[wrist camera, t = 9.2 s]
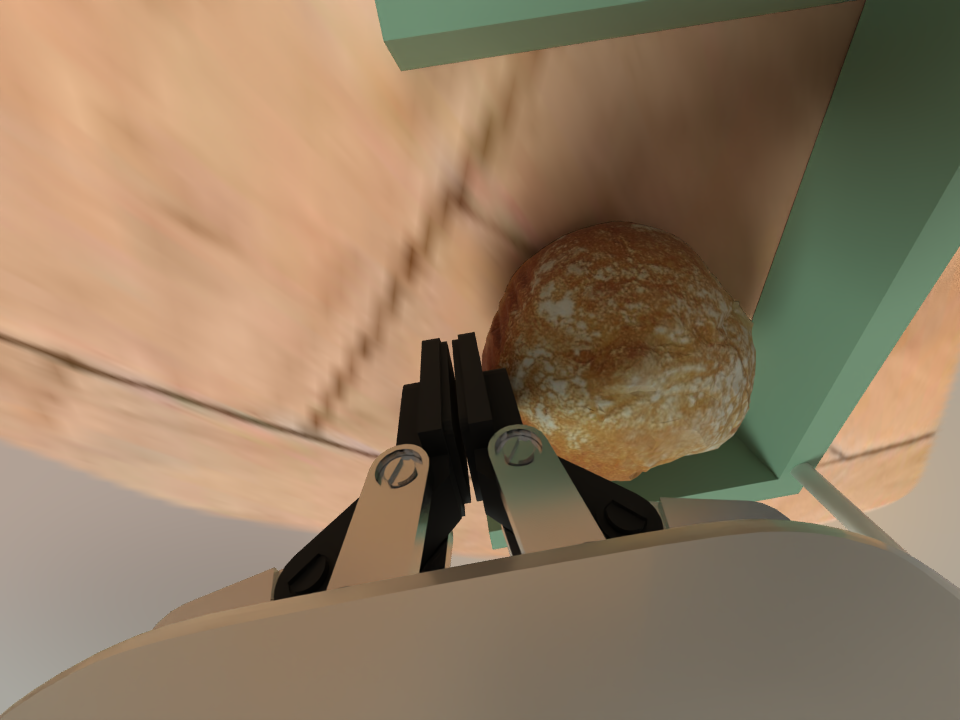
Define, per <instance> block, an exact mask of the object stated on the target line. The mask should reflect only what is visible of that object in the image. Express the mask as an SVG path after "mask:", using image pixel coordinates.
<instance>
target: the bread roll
mask: <svg viewBox="0 0 960 720" xmlns="http://www.w3.org/2000/svg"><path fill="white" fill-rule="evenodd" d="M753 325H754V323H753V322H752V321H750V320H749V319H748V317H747V316H746V315H745V313H744V312H743V311H742V309H741V308H740V306H739V302H737V301H733V298H732V297H731V296H730V295H729V294H728V293H727V292H726V291H725V290H724V289H723V288H722V287H721V284H720V282H719V281H718V280H717V278H716V277H715V276H714V275H713V274H712V273H710V272H709V271H708V268H707V267H706V265H705V264H704V262H703V261H702V260H701V258H700V257H699V256H698V255H697V254H696V253H695V252H694V251H693V250H692V249H691V248H690V247H689V246H688V245H687V244H686V243H685V242H684V241H682V240H681V239H679V238H678V237H676V236H675V235H673V234H670V233H668V232H666V231H663V230H660V229H657V228H653V227H649V226H645V225H640V224H636V223H632V222H622V221H613V222H608V223H602V224H598V225H594V226H590V227H586V228H583V229H580V230H577V231H574V232H572V233H569V234H567V235H564V236H562V237H560V238H559V239H557V240H555V241H554V242H552V243H551V244H549V245H548V246H546V247H544V248H543V249H542V250H540V251H539V252H538V253H536V254H535V255H534V256H532V257H531V258H529V259H528V260H527V261H525V262H524V263H523V265H522V266H521V267H520V268H519V269H518V270H517V271H516V273H515V274H514V275H513V277H512V278H511V280H510V282H509V284H508V285H507V288H506V291H505V294H504V296H503V297H502V299H501V301H500V303H499V310H498V311H497V313H496V315H495V316H494V318H493V322H492V325H491V328H490V330H489V333H488V335H487V338H486V344H485V347H484V350H483V354H482V371H488V370H493V369H499V368H506V370H507V373H508V377H509V380H510V383H511V387H512V390H513V393H514V397H515V400H516V403H517V406H518V410H519V413H520V416H521V420H522V423H523V425H528V426H531V427H535V428H536V429H538V430H539V431H541V432H542V433H543V434H544V435H545V437H546V438H547V439H548V441H549V443H550V445H551V446H552V448H553V450H554V451H555V453H556V455H557V456H559V457H561V458H563V459H565V460H567V461H569V462H571V463H573V464H575V465H578V466H580V467H582V468H584V469H586V470H588V471H590V472H592V473H594V474H597V475H599V476H601V477H603V478H605V479H607V480H609V481H631V480H633V479H634V478H636V477H638V476H639V475H640V474H641V473H642V472H647V471H648V470H649V469H651V468H653V467H656V466H658V465H662V464H666V463H670V462H672V461H674V460H676V459H679V458H681V457H683V456H686V455H693V454H698V453H703V452H707V451H711V450H715V449H718V448H719V447H720V446H721V445H722V444H723V443H724V442H726V441H727V440H728V439H730V438H731V437H732V436H733V435H734V434H735V432H736V431H737V430H738V428H739V426H740V424H741V423H742V421H743V419H744V417H745V415H746V413H747V412H748V410H749V404H750V402H751V401H750V395H751V393H752V390H753V384H754V378H755V366H756V350H755V347H754V344H753V338H752V327H753Z"/></svg>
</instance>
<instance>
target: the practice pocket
mask: <svg viewBox="0 0 960 720" xmlns="http://www.w3.org/2000/svg"><path fill="white" fill-rule="evenodd" d="M848 1H855V0H375V3H376V8H377V12H378V17H379V22H380V26H381V31H382V36H383V40H384V43H385V44H386V46H387V48H388V49H389V51H390V53H391V55H392V56H393V58H394V60H395V62H396V63H397V65H398V67H399V68H400V70H401V71H405V70H411V69H417V68H424V67H430V66H437V65H443V64H450V63H456V62H462V61H469V60H475V59H482V58H488V57H495V56H501V55H507V54H514V53H520V52H527V51H533V50H540V49H546V48H552V47H559V46H565V45H572V44H578V43H585V42H591V41H597V40H604V39H610V38H617V37H623V36H630V35H636V34H642V33H649V32H655V31H662V30H668V29H675V28H681V27H687V26H694V25H700V24H707V23H713V22H720V21H726V20H732V19H739V18H745V17H752V16H758V15H765V14H771V13H777V12H784V11H790V10H797V9H803V8H810V7H816V6H822V5H829V4H835V3H842V2H848ZM959 246H960V0H866V2H865V5H864V8H863V11H862V14H861V16H860V19H859V22H858V25H857V28H856V30H855V33H854V36H853V39H852V42H851V44H850V47H849V50H848V53H847V56H846V58H845V61H844V64H843V67H842V70H841V72H840V75H839V78H838V81H837V84H836V86H835V89H834V92H833V95H832V98H831V100H830V103H829V106H828V109H827V112H826V114H825V117H824V120H823V123H822V126H821V128H820V131H819V134H818V137H817V140H816V143H815V145H814V148H813V151H812V154H811V157H810V159H809V162H808V165H807V168H806V171H805V173H804V176H803V179H802V182H801V185H800V187H799V190H798V193H797V196H796V199H795V201H794V204H793V207H792V210H791V213H790V215H789V218H788V221H787V224H786V227H785V229H784V232H783V235H782V238H781V241H780V243H779V246H778V249H777V252H776V255H775V257H774V260H773V263H772V266H771V269H770V272H769V274H768V277H767V280H766V283H765V286H764V288H763V291H762V294H761V297H760V300H759V302H758V305H757V308H756V311H755V314H754V316H753V319H752V322H753V323H754V325H753V327H752V338H753V344H754V347H755V350H756V366H755V378H754V384H753V390H752V393H751V395H750V401H751V402H750V404H749V410H748V412H747V413H746V415H745V417H744V419H743V421H742V423H741V424H740V426H739V428H738V430H737V431H736V432H735V434H734V435H733V436H732V437H731V438H730V439H728V440H727V441H726V442H724V443H723V444H722V445H721V446H720V447H719V448H718V449H715V450H711V451H707V452H703V453H698V454H693V455H686V456H683V457H681V458H679V459H676V460H674V461H672V462H670V463H666V464H662V465H658V466H656V467H653V468H651V469H649V470H648V471H647V472H642V473H641V474H640V475H639V476H638V477H636V478H634V479H633V480H631V481H611V482H613V483H615V484H618V485H620V486H622V487H624V488H626V489H628V490H630V491H632V492H634V493H636V494H638V495H640V496H641V497H643V498H645V499H646V500H648V501H653V502H659V499H660V497H666V498H693V499H720V500H746V501H754V502H755V501H760V500H766V499H771V498H777V497H782V496H788V495H793V494H798V493H799V492H800V490H801V489H802V487H803V486H804V487H805V488H806V489H807V490H808V491H809V492H810V493H811V494H812V495H813V496H814V497H815V498H816V499H817V500H818V501H819V502H820V503H821V504H822V505H823V506H824V507H825V508H826V509H827V510H828V511H829V512H830V513H831V514H832V515H833V516H834V517H835V518H836V519H837V520H838V521H839V522H841V523H842V524H843V525H844V526H845V527H846V528H847V529H848V530H849V531H851V532H855V533H858V534H861V535H864V536H868V537H871V538H874V539H877V540H879V541H882V542H884V543H886V544H889V545H891V546H893V547H896V548H898V549H899V550H901V551H903V552H905V553H907V552H906V551H905V550H904V549H903V548H902V547H901V546H900V545H899V544H897V543H896V542H895V541H894V540H893V539H892V538H891V537H890V536H889V535H887V534H886V533H885V532H884V531H883V530H882V529H881V528H880V527H878V526H877V525H876V524H875V523H874V522H873V521H872V520H871V519H869V517H867V516H866V515H865V514H864V513H863V512H862V511H861V510H860V509H859V508H857V507H856V506H855V505H854V504H853V503H852V502H851V501H850V500H849V499H847V498H846V497H845V496H844V495H843V494H842V493H841V492H840V491H838V490H837V489H836V488H835V487H834V486H833V485H832V484H831V483H830V482H828V481H827V480H826V479H825V478H824V477H823V476H822V475H821V474H820V473H818V472H817V471H816V470H815V467H816V466H817V464H818V463H819V461H820V460H821V458H822V457H823V455H824V454H825V452H826V451H827V449H828V447H829V446H830V444H831V443H832V441H833V440H834V438H835V437H836V435H837V434H838V432H839V431H840V429H841V427H842V426H843V424H844V423H845V421H846V420H847V418H848V417H849V415H850V414H851V412H852V411H853V409H854V408H855V406H856V404H857V403H858V401H859V400H860V398H861V397H862V395H863V394H864V392H865V391H866V389H867V388H868V386H869V385H870V383H871V381H872V380H873V378H874V377H875V375H876V374H877V372H878V371H879V369H880V368H881V366H882V365H883V363H884V361H885V360H886V358H887V357H888V355H889V354H890V352H891V351H892V349H893V348H894V346H895V345H896V343H897V342H898V340H899V338H900V337H901V335H902V334H903V332H904V331H905V329H906V328H907V326H908V325H909V323H910V322H911V320H912V318H913V317H914V315H915V314H916V312H917V311H918V309H919V308H920V306H921V305H922V303H923V302H924V300H925V299H926V297H927V295H928V294H929V292H930V291H931V289H932V288H933V286H934V285H935V283H936V282H937V280H938V279H939V277H940V276H941V274H942V272H943V271H944V269H945V268H946V266H947V265H948V263H949V262H950V260H951V259H952V257H953V256H954V254H955V252H956V251H957V249H958V248H959ZM487 521H488V528H489V534H490V539H491V543H492V548H493V549H498V548H504V547H507V544H506V541H505V538H504V535H503V532H502V527H501V524H500V523H498V522H497V521H495V520H494V519H492V518H491V517H489V516H488V515H487ZM907 554H908V553H907ZM908 555H910V554H908ZM910 556H911V555H910Z"/></svg>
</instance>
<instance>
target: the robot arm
mask: <svg viewBox="0 0 960 720" xmlns="http://www.w3.org/2000/svg"><path fill="white" fill-rule="evenodd" d="M452 347H453V359H454V370H455V376H454V371H453V367H452V362H451V358H450V353H449V348H448V344H447V341H446V342H441V341H440V338H436V339H431V340H425V341H422V351H421V371H420V382H418V383H412V384H407V385H404V386H403V391H402V399H401V408H400V417H399V425H398V434H397V443H396V446H394V447H392V448H390V449H387V450H386V451H385V452H383V453H382V454H380V455H379V456H378V457H377V458H376V459H375V461H374V462H373V464H372V465H371V467H370V469H369V472H368V475H367V477H366V480H365V483H364V486H363V489H362V492H361V494H360V497H359V498H358V499H357V500H356V501H355V502H353V503H352V504H351V505H350V506H349V507H348V508H347V509H346V510H345V511H344V512H342V513H341V514H340V515H339V516H338V517H337V518H336V519H335V520H334V521H333V522H331V523H330V524H329V525H328V526H327V527H326V528H325V529H324V530H323V531H321V532H320V533H319V534H318V535H317V536H316V537H315V538H314V539H313V540H312V541H311V542H310V543H308V544H307V545H306V546H305V547H304V548H303V549H302V550H301V551H299V552H298V553H297V554H296V555H295V556H294V557H293V558H292V559H291V560H290V562H289V563H288V564H287V565H286V566H285V568H284V569H282V570H279V571H278V570H276V568H272V569H269V570H267V571H264V572H262V573H260V574H257V575H254V576H252V577H250V578H247V579H245V580H242V581H240V582H237V583H235V584H232V585H230V586H227V587H225V588H222V589H220V590H217V591H215V592H212V593H210V594H208V595H205V596H203V597H200V598H198V599H195V600H193V601H190V602H188V603H185V604H183V605H181V606H180V607H178V608H176V609H174V610H173V611H171V612H170V613H169V614H167V615H166V616H165V617H164V618H163V619H162V620H160V621H159V622H158V623H157V624H156V626H155V627H154V628H153V629H152V630H151V631H148V632H145V633H142V634H139V635H137V636H134V637H132V638H130V639H127V640H125V641H123V642H120V643H118V644H116V645H113V646H111V647H109V648H107V649H105V650H102V651H100V652H98V653H96V654H94V655H92V656H91V657H89V658H87V659H85V660H83V661H81V662H80V663H78V664H76V665H74V666H72V667H71V668H69V669H67V670H65V671H63V672H61V673H60V674H58V675H56V676H55V677H53V678H51V679H50V680H48V681H47V682H45V683H44V684H42V685H40V686H39V687H37V688H36V689H34V690H33V691H31V692H30V693H28V694H27V695H26V696H24V697H23V698H21V699H20V700H19V701H17V702H16V703H14V704H13V705H12V706H11V707H9V708H8V709H7V710H6V711H5V712H3V713H2V714H1V715H0V720H960V589H959V588H958V587H957V586H955V585H954V584H952V583H951V582H950V581H948V580H947V579H945V578H944V577H943V576H941V575H940V574H939V573H937V572H936V571H934V570H933V569H931V568H929V567H928V566H927V565H925V564H924V563H922V562H920V561H919V560H917V559H916V558H914V557H912V556H910V555H908V554H907V553H905V552H903V551H901V550H899V549H898V548H896V547H893V546H891V545H889V544H886V543H884V542H882V541H879V540H877V539H874V538H871V537H868V536H864V535H861V534H858V533H855V532H851V531H847V530H843V529H839V528H834V527H829V526H824V525H818V524H813V523H805V522H798V521H791V520H790V519H789V518H787V517H786V516H785V515H783V514H782V513H781V512H779V511H778V510H776V509H774V508H772V507H770V506H768V505H765V504H763V503H759V502H754V501H746V500H720V499H693V498H666V497H660V499H659V502H653V501H648V500H646V499H645V498H643V497H641V496H640V495H638V494H636V493H634V492H632V491H630V490H628V489H626V488H624V487H622V486H620V485H618V484H615V483H613V482H611V481H609V480H607V479H605V478H603V477H601V476H599V475H597V474H594V473H592V472H590V471H588V470H586V469H584V468H582V467H580V466H578V465H575V464H573V463H571V462H569V461H567V460H565V459H563V458H561V457H559V456H557V455H556V453H555V451H554V450H553V448H552V446H551V445H550V443H549V441H548V439H547V438H546V437H545V435H544V434H543V433H542V432H541V431H539V430H538V429H536V428H535V427H531V426H528V425H523V423H522V420H521V416H520V413H519V410H518V406H517V403H516V400H515V397H514V393H513V390H512V387H511V383H510V380H509V377H508V373H507V370H506V368H499V369H493V370H488V371H482V366H481V361H480V356H479V351H478V346H477V342H476V337H475V332H472V333H466V334H460V335H458V339H457V340H452ZM467 460H468V465H469V469H470V474H471V478H472V482H473V487H474V491H475V495H476V500H477V501H482V500H483V503H484V508H485V513H486V515H488V516H489V517H491V518H492V519H494V520H495V521H497V522H498V523H500V524H501V527H502V532H503V535H504V538H505V541H506V544H507V547H508V550H509V553H510V557H505V558H500V559H494V560H489V561H483V562H478V563H472V564H467V565H462V566H456V567H450V565H451V555H452V545H453V531H452V530H453V528H454V527H455V526H456V525H457V524H458V522H459V521H460V520H461V519H462V516H465V507H464V504H466V503H471V495H470V485H469V475H468V466H467Z"/></svg>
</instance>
